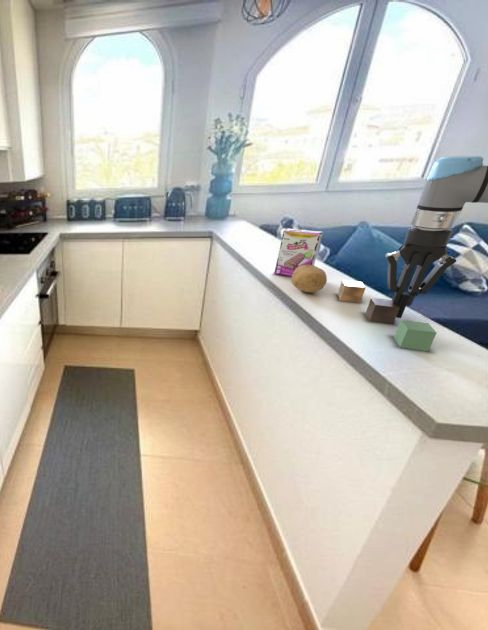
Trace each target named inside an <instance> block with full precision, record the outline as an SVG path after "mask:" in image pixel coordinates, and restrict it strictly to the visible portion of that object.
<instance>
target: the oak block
mask: <svg viewBox="0 0 488 630" xmlns="http://www.w3.org/2000/svg"><path fill="white" fill-rule="evenodd" d="M365 291H366V286H365V284H364V283H363V281H357V280H343V279H341V281H340V285H339V287H338V292H337V297H338V299H339V301H340V302H347V303H357V304H361V303H362V300H363V297H364V294H365Z"/></svg>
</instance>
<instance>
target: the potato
mask: <svg viewBox="0 0 488 630" xmlns="http://www.w3.org/2000/svg"><path fill="white" fill-rule="evenodd" d="M327 281H328V277H327V273H326V271H325V270H323V269H322V268H320V267H318V266H315V264H314V265H301V266H299V267H297V268H296V270H295V271H294V273H293V275H292V277H291V283H292V285H293V286H294V288H296V289H298V290H300V291H302V292H305V293H315V292H318V291H321V290H322V289H324V287H325V286H326V285H327Z"/></svg>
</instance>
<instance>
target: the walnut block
mask: <svg viewBox="0 0 488 630" xmlns="http://www.w3.org/2000/svg"><path fill="white" fill-rule="evenodd" d="M399 309H400V307H399V306H398V305H395V304H393V303H392V299H385V298H375V297H371V298H370V300H369V303H368V305H367V308H366V311H365V316H366V318H367V319H368V321H369V322H371V323H379V324H386V325H387V324H388V325H394V323H395V321H396V319H397V318H396V316H397V314H398V311H399Z"/></svg>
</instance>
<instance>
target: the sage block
mask: <svg viewBox="0 0 488 630" xmlns="http://www.w3.org/2000/svg"><path fill="white" fill-rule="evenodd" d="M436 335H437V331H436V330H435V329H434V328H433V326H432V325H431V324H430V323H429V322H424V321H423V322H422V321H414V320H406V319H400V321H399V324H398V326H397V329H396V331H395V334H394V336H393V338H394V340H395V342H396V343H397V345H398V347H399V348H403V349H409V350H414V351H415V350H417V351H421V352H422V351H423V352H429V350H430V348H431V346H432V344H433V342H434V339H435V337H436Z"/></svg>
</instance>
